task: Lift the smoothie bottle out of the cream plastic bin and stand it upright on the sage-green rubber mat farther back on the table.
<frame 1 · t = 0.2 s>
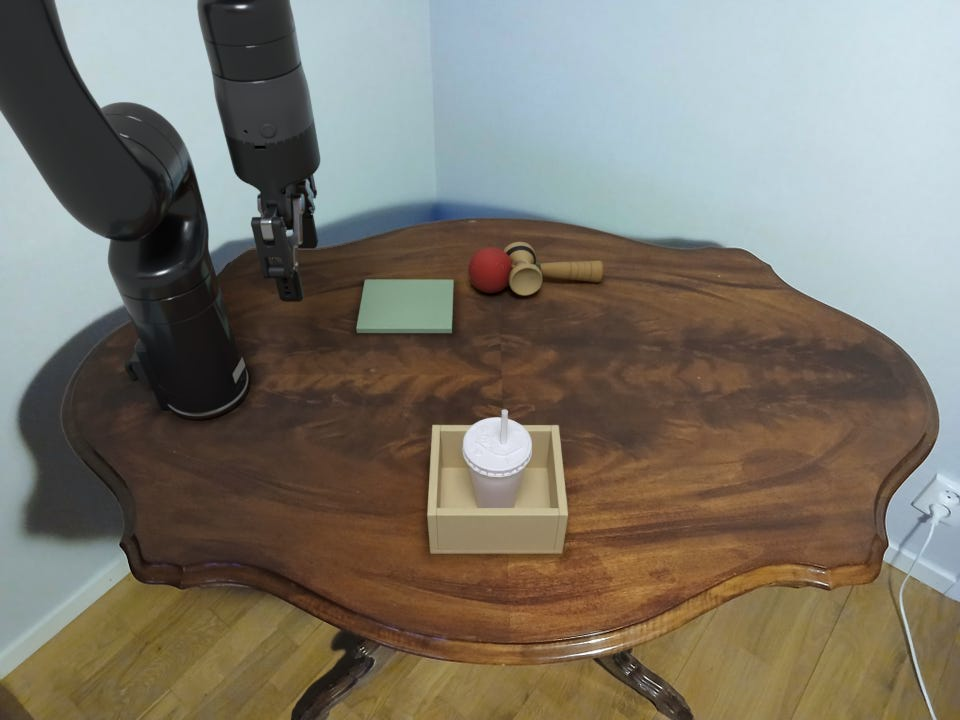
hand: (300, 272, 72), 17 cm above the table, tool pointing down, fingers open, 8 cm apart
bin: (495, 507, 73), on the table
mat: (407, 307, 95), on the table
kendama: (534, 285, 99), on the table
smoothie: (495, 505, 73), resting on bin
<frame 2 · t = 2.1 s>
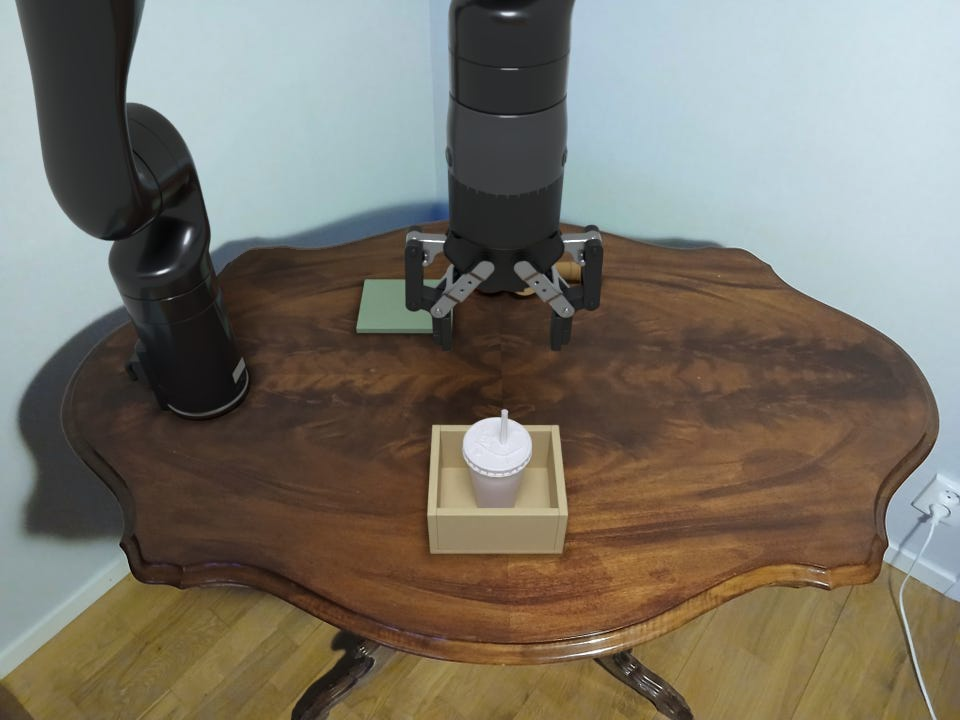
hand: (500, 344, 58), 22 cm above the table, tool pointing down, fingers open, 8 cm apart
nothing on the table moved.
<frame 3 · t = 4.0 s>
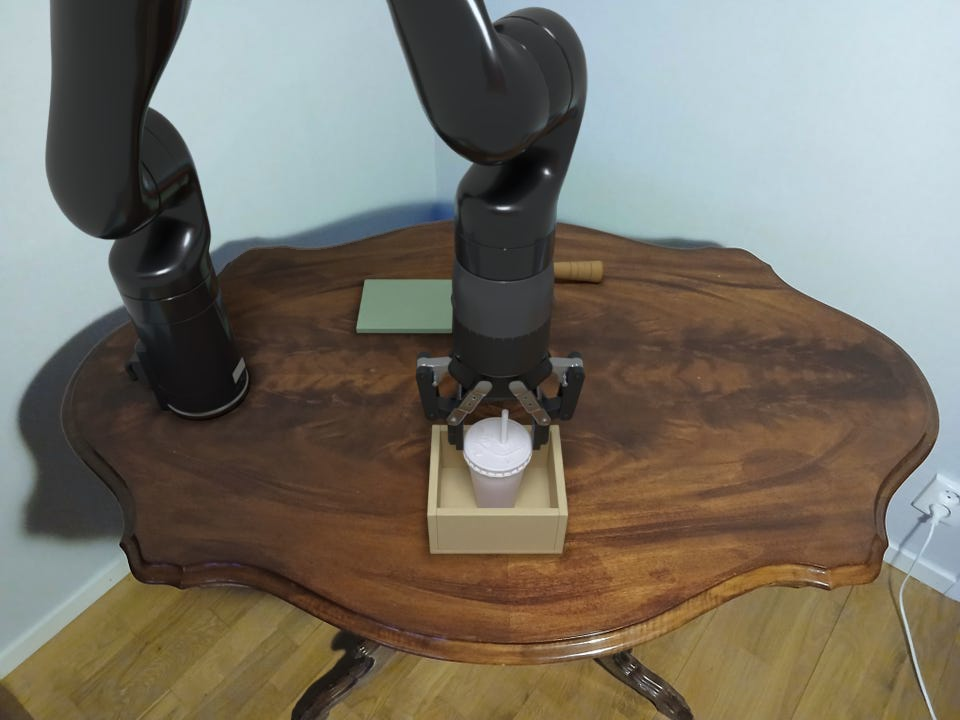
hand: (497, 442, 66), 10 cm above the table, tool pointing down, fingers closed on smoothie, 6 cm apart
smoothie: (495, 505, 73), resting on bin, touching gripper
everything else where it was.
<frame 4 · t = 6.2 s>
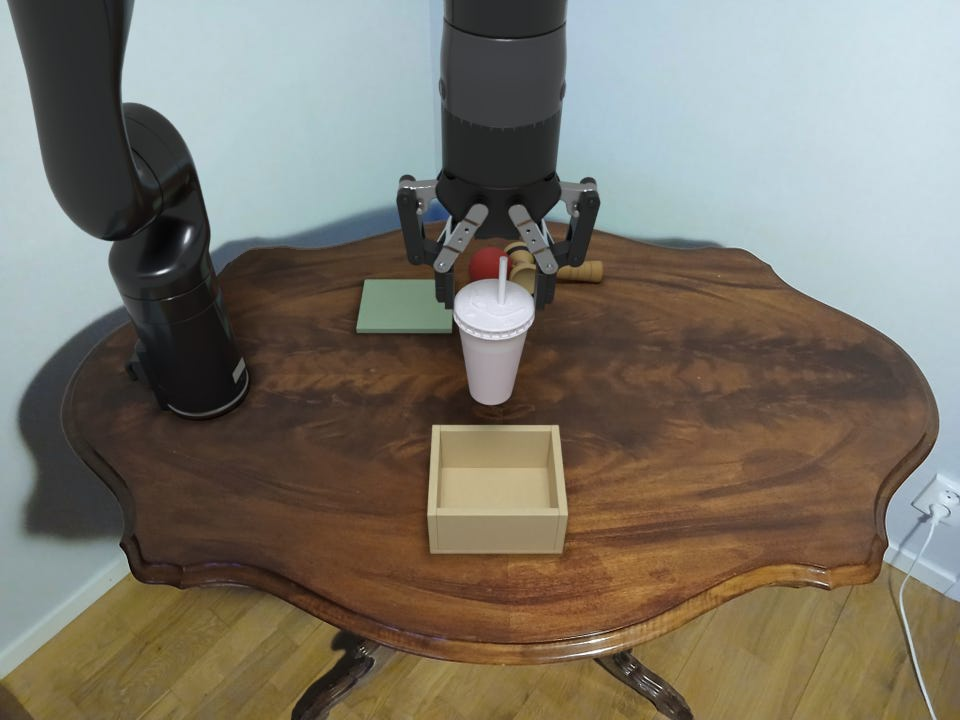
hand: (493, 302, 56), 26 cm above the table, tool pointing down, fingers closed on smoothie, 6 cm apart
smoothie: (490, 390, 63), point 16 cm above the table, touching gripper
everything else where it was.
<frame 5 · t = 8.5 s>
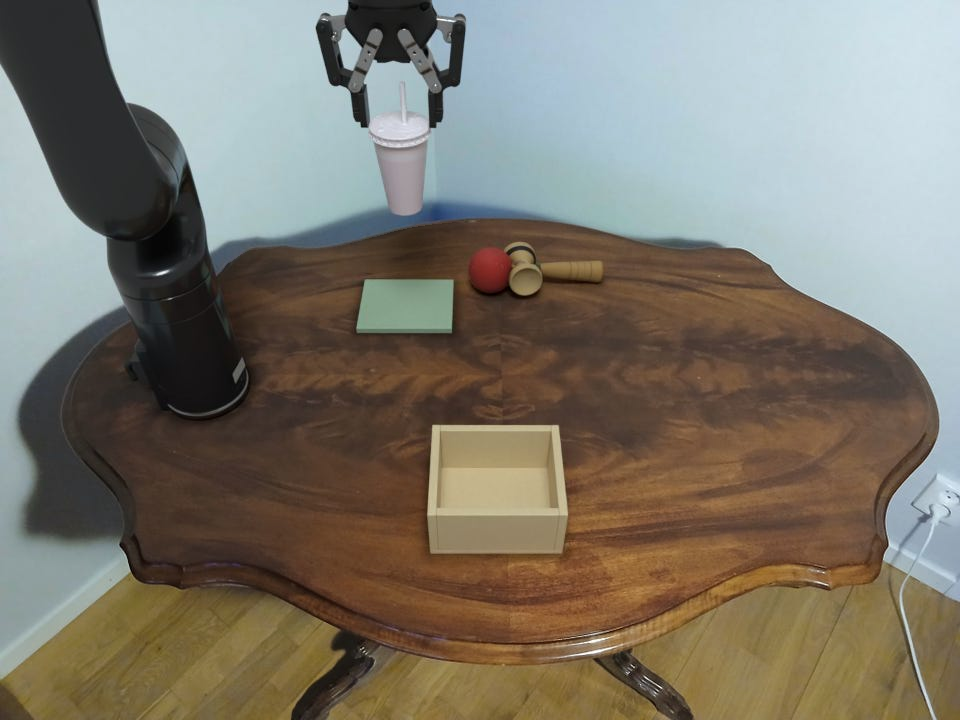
hand: (399, 124, 74), 27 cm above the table, tool pointing down, fingers closed on smoothie, 6 cm apart
smoothie: (405, 207, 81), point 17 cm above the table, touching gripper
everything else where it was.
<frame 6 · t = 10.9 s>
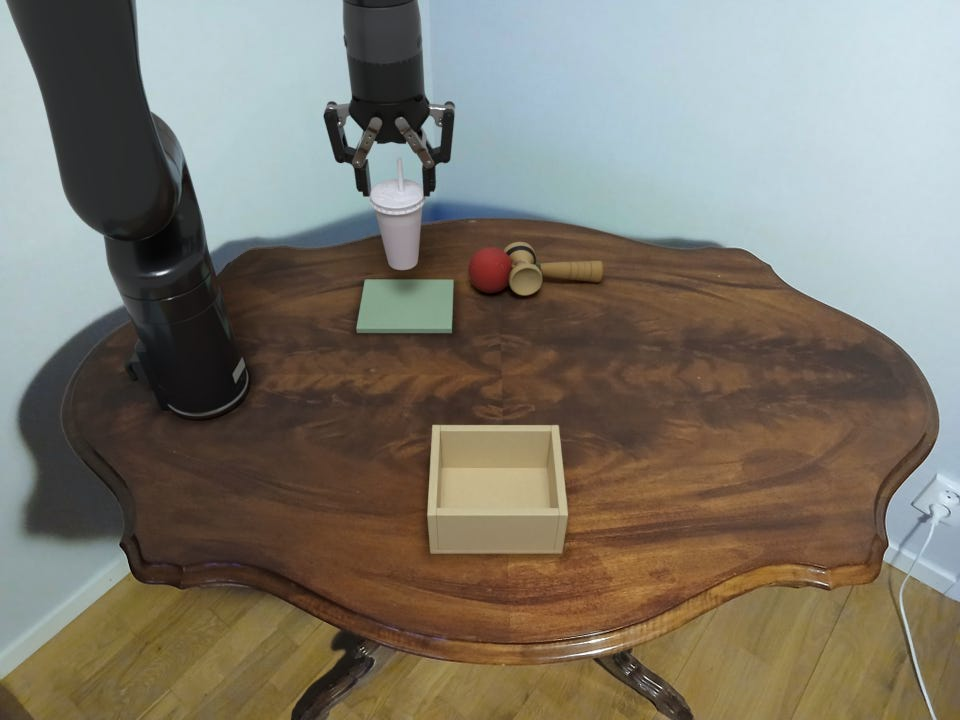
hand: (397, 192, 83), 17 cm above the table, tool pointing down, fingers closed on smoothie, 6 cm apart
smoothie: (403, 262, 90), point 7 cm above the table, touching gripper
everything else where it was.
when the fingers open (10 cm above the table, at t = 13.1 s): smoothie stays where it is, resting on mat.
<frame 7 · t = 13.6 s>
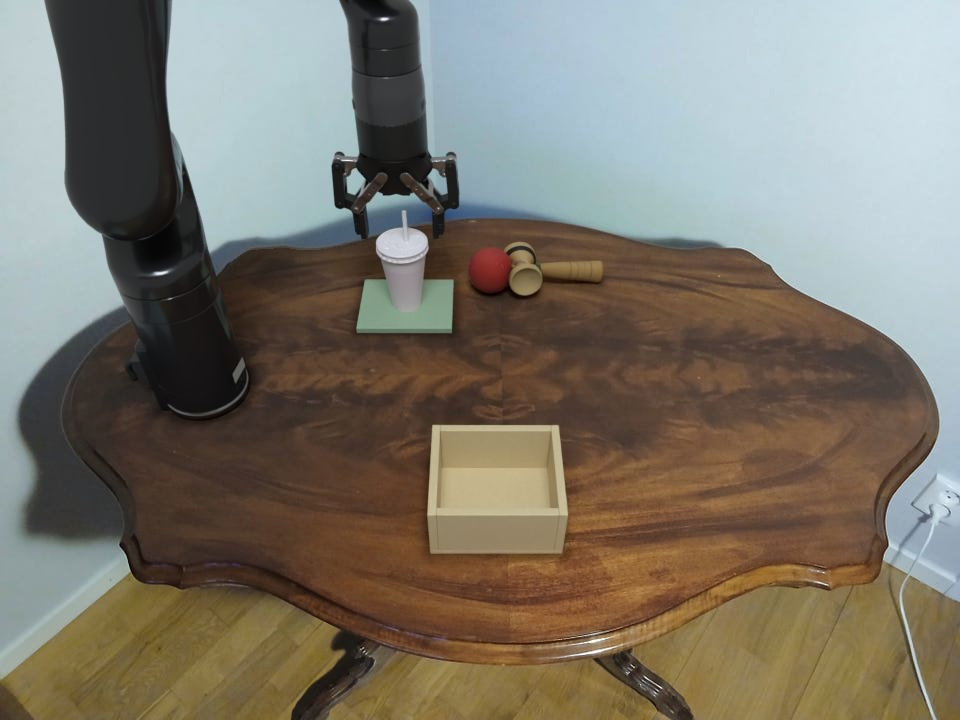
hand: (400, 235, 88), 11 cm above the table, tool pointing down, fingers open, 8 cm apart
smoothie: (407, 304, 95), point 1 cm above the table, touching mat
everything else where it was.
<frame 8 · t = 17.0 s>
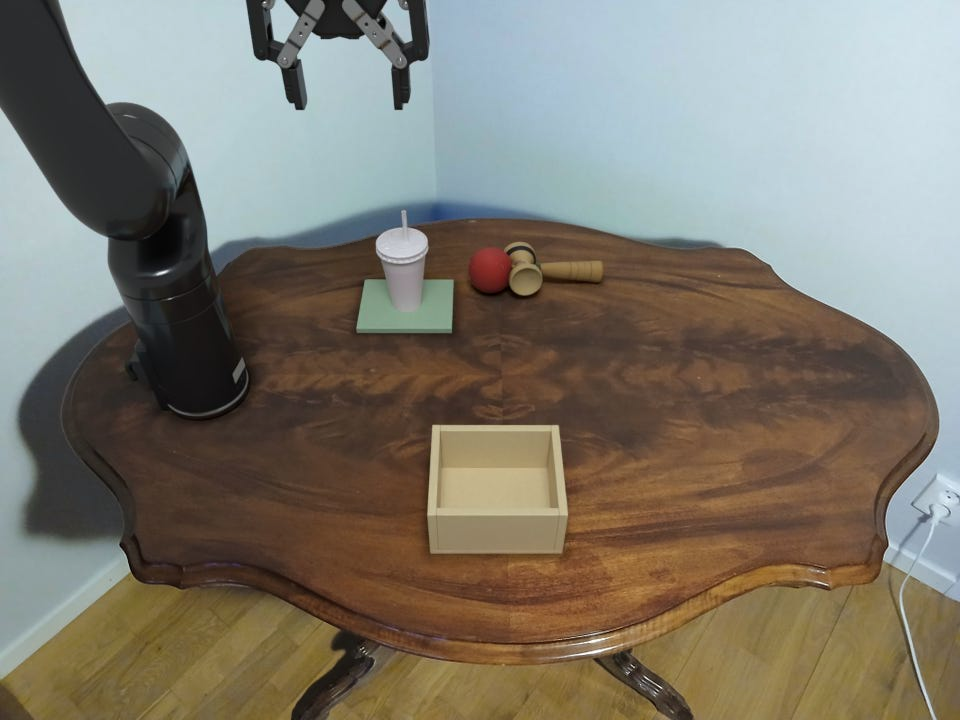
hand: (350, 106, 64), 33 cm above the table, tool pointing down, fingers open, 8 cm apart
nothing on the table moved.
at the end: smoothie inside the target area on the mat (0.1 cm from its centre), point 0.6 cm above the mat's base; smoothie tilted 0°; smoothie touching mat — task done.
